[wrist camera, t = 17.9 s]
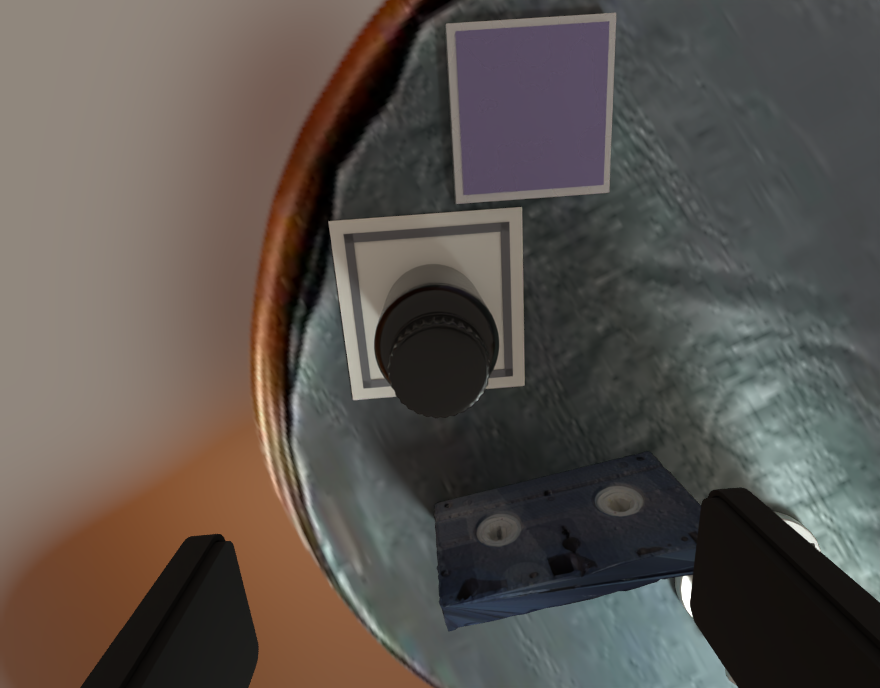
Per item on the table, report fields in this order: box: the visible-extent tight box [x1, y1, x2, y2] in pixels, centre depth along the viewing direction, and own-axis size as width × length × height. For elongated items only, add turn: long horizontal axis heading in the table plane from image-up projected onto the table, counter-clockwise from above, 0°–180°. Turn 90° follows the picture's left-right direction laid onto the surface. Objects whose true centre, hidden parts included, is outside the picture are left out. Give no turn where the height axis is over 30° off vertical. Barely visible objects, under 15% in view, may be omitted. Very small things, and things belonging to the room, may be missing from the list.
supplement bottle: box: [374, 264, 499, 418], centre depth 26 cm, size 7×7×12 cm
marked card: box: [328, 207, 525, 400], centre depth 32 cm, size 13×13×1 cm
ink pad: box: [445, 13, 616, 204], centre depth 28 cm, size 10×10×2 cm
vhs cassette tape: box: [434, 451, 701, 631], centre depth 32 cm, size 18×3×10 cm, turn 103°
